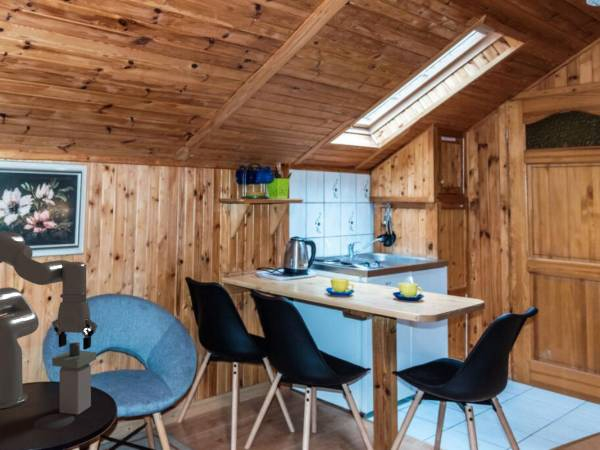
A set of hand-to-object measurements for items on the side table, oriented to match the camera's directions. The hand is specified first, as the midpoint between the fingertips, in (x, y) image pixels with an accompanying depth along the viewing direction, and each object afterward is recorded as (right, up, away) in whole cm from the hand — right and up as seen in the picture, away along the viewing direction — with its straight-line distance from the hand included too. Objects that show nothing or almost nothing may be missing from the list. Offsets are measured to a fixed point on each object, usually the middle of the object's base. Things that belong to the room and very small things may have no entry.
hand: (74, 347), depth 167 cm
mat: (-3, -23, -9) cm, 24 cm away
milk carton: (0, -23, +1) cm, 23 cm away
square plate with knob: (0, -5, 0) cm, 5 cm away
